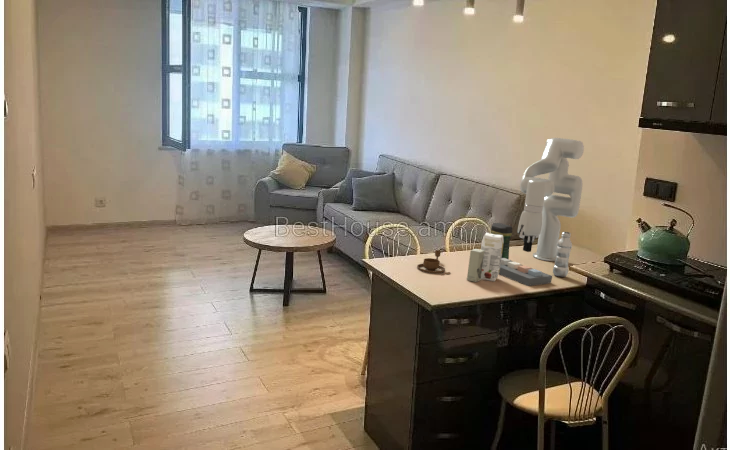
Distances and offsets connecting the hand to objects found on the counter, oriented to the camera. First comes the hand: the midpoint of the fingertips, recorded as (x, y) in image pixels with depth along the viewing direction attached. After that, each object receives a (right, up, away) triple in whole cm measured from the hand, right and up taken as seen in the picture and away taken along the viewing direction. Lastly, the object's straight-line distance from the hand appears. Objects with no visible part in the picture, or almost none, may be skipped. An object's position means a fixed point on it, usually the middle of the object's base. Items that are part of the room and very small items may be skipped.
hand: (526, 251), depth 273 cm
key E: (+3, -10, -3) cm, 11 cm away
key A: (-4, -7, +7) cm, 11 cm away
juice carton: (-17, -12, -3) cm, 21 cm away
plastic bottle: (+17, -12, +11) cm, 24 cm away
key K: (-7, -6, +12) cm, 15 cm away
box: (-24, -12, -7) cm, 28 cm away
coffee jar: (-7, -7, +25) cm, 27 cm away
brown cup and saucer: (-38, -9, +5) cm, 40 cm away
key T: (-1, -9, +2) cm, 9 cm away
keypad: (-3, -11, +5) cm, 13 cm away
